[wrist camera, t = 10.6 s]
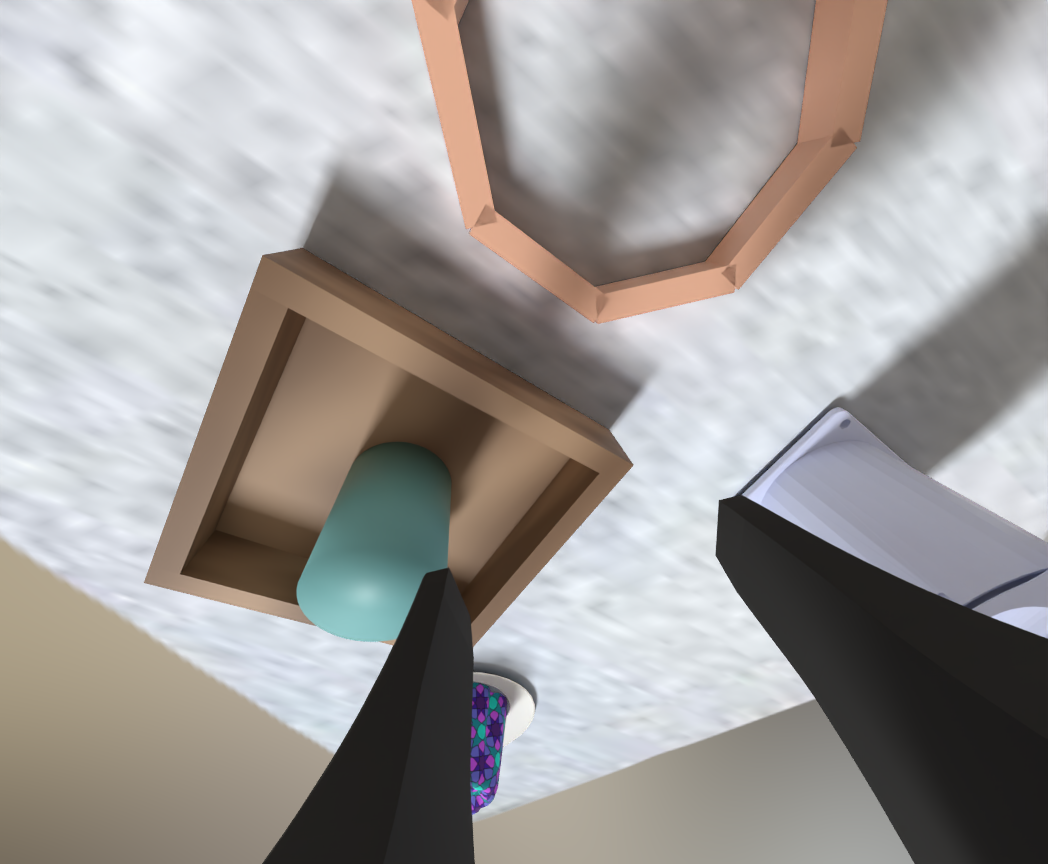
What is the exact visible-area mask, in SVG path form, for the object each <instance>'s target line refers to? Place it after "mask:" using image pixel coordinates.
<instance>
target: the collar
mask: <svg viewBox="0 0 1048 864" xmlns="http://www.w3.org/2000/svg"><path fill="white" fill-rule="evenodd" d="M468 2H469V0H412V4H413V8H414V12H415V17H416V21H417V25H418V29H419V34H420V38H421V42H422V46H423V50H424V55H425V59H426V63H427V67H428V71H429V76H430V80H431V84H432V88H433V93H434V97H435V101H436V105H437V109H438V114H439V118H440V122H441V126H442V131H443V135H444V139H445V143H446V147H447V152H448V156H449V160H450V164H451V168H452V173H453V177H454V181H455V185H456V190H457V194H458V198H459V202H460V206H461V211H462V215H463V219H464V223H465V227H466V229H469V228H471V230H470V231H469V234H470V235H471V236H472V237H474V238H475V239H477V240H478V241H479V242H481V243H482V244H484V245H485V246H486V247H488V248H489V249H491V250H492V251H493V252H495V253H496V254H498V255H499V256H500V257H502V258H503V259H505V260H506V261H507V262H509V263H510V264H512V265H513V266H514V267H516V268H517V269H519V270H520V271H521V272H523V273H524V274H526V275H527V276H528V277H530V278H531V279H533V280H534V281H535V282H537V283H538V284H540V285H541V286H542V287H544V288H545V289H547V290H548V291H549V292H551V293H552V294H554V295H555V296H556V297H558V298H559V299H561V300H562V301H563V302H565V303H566V304H568V305H569V306H570V307H572V308H573V309H575V310H576V311H577V312H579V313H580V314H582V315H583V316H584V317H586V318H587V319H589V320H590V321H591V322H593V323H594V322H596V323H597V324H600V323H604V322H608V321H613V320H617V319H621V318H626V317H630V316H634V315H639V314H643V313H647V312H652V311H656V310H660V309H665V308H669V307H673V306H678V305H682V304H686V303H691V302H695V301H699V300H704V299H708V298H712V297H717V296H721V295H725V294H730V293H734V290H735V289H738V290H739V289H740V287H741V286H742V285H743V284H744V283H745V281H746V280H747V279H748V278H749V277H750V275H751V274H752V273H753V272H754V271H755V269H756V268H757V267H758V266H759V265H760V263H761V262H762V261H763V260H764V259H765V257H766V256H767V255H768V254H769V253H770V251H771V250H772V249H773V248H774V247H775V245H776V244H777V243H778V242H779V241H780V239H781V238H782V237H783V236H784V235H785V233H786V232H787V231H788V230H789V229H790V227H791V226H792V225H793V224H794V223H795V221H796V220H797V219H798V218H799V217H800V215H801V214H802V213H803V212H804V211H805V209H806V208H807V207H808V206H809V205H810V203H811V202H812V201H813V200H814V199H815V197H816V196H817V195H818V194H819V193H820V191H821V190H822V189H823V188H824V187H825V185H826V184H827V183H828V182H829V181H830V179H831V178H832V177H833V176H834V175H835V173H836V172H837V171H838V170H839V169H840V167H841V166H842V165H843V164H844V163H845V162H846V160H847V159H848V158H849V157H850V156H851V154H852V153H853V152H854V151H855V150H856V148H857V147H856V146H855V144H854V143H855V142H859V141H860V139H861V134H862V129H863V124H864V119H865V114H866V109H867V104H868V99H869V93H870V88H871V83H872V78H873V73H874V68H875V63H876V58H877V53H878V47H879V42H880V37H881V32H882V27H883V22H884V17H885V12H886V7H887V2H888V0H816V4H815V12H814V20H813V27H812V35H811V43H810V50H809V58H808V66H807V73H806V81H805V89H804V96H803V104H802V112H801V119H800V127H799V134H798V142H797V145H796V146H795V147H794V148H793V150H792V151H791V152H790V154H789V155H788V156H787V157H786V159H785V160H784V161H783V163H782V164H781V165H780V166H779V168H778V169H777V170H776V172H775V173H774V174H773V175H772V177H771V178H770V179H769V181H768V182H767V183H766V184H765V186H764V187H763V188H762V189H761V191H760V192H759V193H758V195H757V196H756V197H755V198H754V200H753V201H752V202H751V204H750V205H749V206H748V207H747V209H746V210H745V211H744V213H743V214H742V215H741V216H740V218H739V219H738V220H737V221H736V223H735V224H734V225H733V227H732V228H731V229H730V230H729V232H728V233H727V234H726V236H725V237H724V238H723V239H722V241H721V242H720V243H719V245H718V246H717V247H716V248H715V250H714V251H713V252H712V254H711V255H710V256H709V257H708V259H707V260H706V261H705V262H701V263H697V264H693V265H688V266H684V267H680V268H675V269H671V270H666V271H662V272H658V273H653V274H649V275H644V276H640V277H636V278H631V279H627V280H623V281H618V282H614V283H609V284H605V285H601V286H596V287H594V286H593V285H592V284H590V283H589V282H588V281H586V280H585V279H584V278H582V277H581V276H580V275H578V274H577V273H576V272H575V271H573V270H572V269H571V268H569V267H568V266H567V265H565V264H564V263H563V262H561V261H560V260H559V259H557V258H556V257H555V256H554V255H552V254H551V253H550V252H548V251H547V250H546V249H544V248H543V247H542V246H540V245H539V244H538V243H536V242H535V241H534V240H532V239H531V238H530V237H529V236H527V235H526V234H525V233H523V232H522V231H521V230H519V229H518V228H517V227H515V226H514V225H513V224H511V223H510V222H509V221H508V220H506V219H505V218H504V217H502V216H501V215H500V214H498V213H497V212H496V211H495V210H494V205H493V200H492V195H491V190H490V185H489V180H488V175H487V170H486V165H485V160H484V155H483V150H482V145H481V140H480V135H479V130H478V125H477V120H476V115H475V110H474V105H473V100H472V95H471V90H470V85H469V80H468V75H467V70H466V65H465V60H464V55H463V50H462V45H461V40H460V35H459V30H458V24H459V22H460V20H461V17H462V15H463V13H464V11H465V9H466V6H467V4H468Z"/></svg>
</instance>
